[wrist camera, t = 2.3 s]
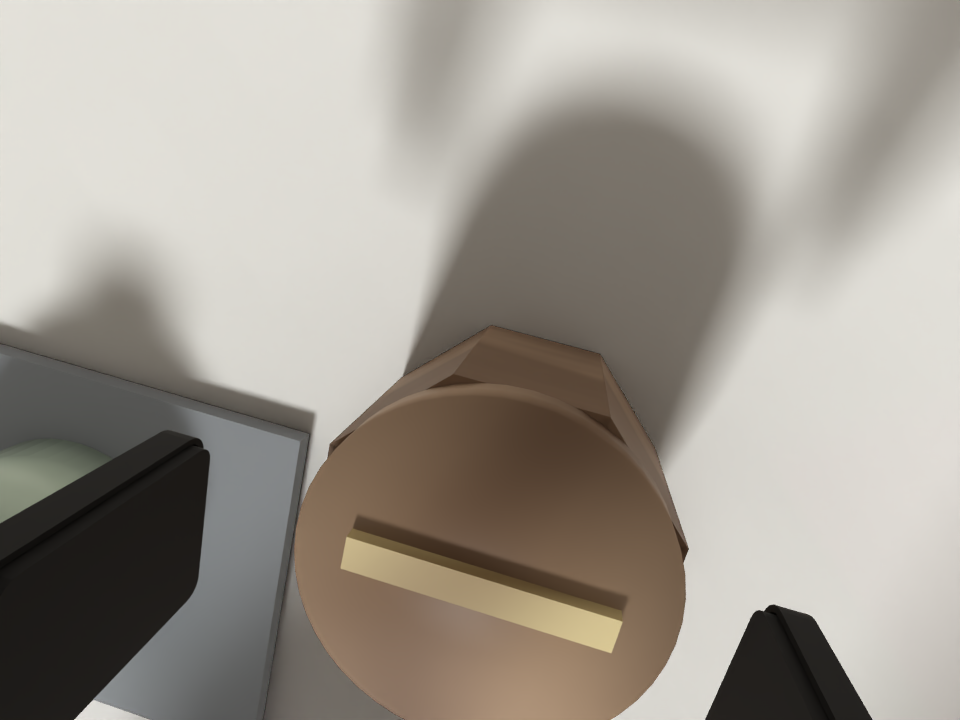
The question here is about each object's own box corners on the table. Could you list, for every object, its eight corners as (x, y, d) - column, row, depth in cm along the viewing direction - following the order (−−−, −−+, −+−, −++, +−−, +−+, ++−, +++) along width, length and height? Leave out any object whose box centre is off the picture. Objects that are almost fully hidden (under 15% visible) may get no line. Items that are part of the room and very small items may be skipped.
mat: (309, 433, 17) (300, 441, 17) (259, 739, 21) (250, 754, 20) (-99, 315, 19) (-120, 318, 18) (-85, 620, 22) (-103, 630, 21)
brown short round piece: (684, 372, 15) (752, 471, 9) (603, 606, 17) (617, 808, 11) (413, 301, 16) (317, 351, 10) (366, 533, 18) (264, 689, 12)
